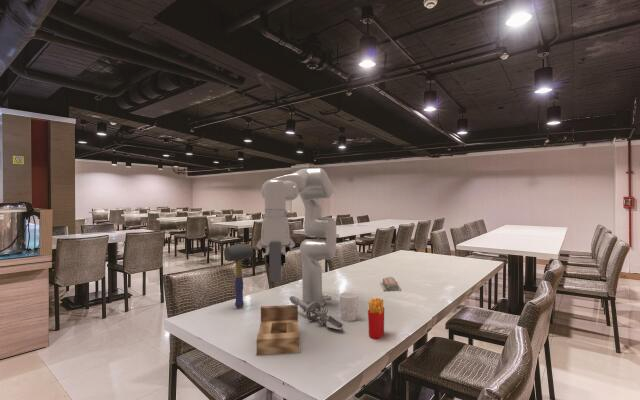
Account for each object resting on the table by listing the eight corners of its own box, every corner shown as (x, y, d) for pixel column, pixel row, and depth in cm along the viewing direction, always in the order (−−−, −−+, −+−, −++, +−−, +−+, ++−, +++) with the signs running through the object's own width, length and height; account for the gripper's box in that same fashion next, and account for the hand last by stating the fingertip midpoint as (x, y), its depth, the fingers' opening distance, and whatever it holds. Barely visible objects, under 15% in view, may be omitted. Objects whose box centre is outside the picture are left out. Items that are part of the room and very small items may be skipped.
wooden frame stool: (298, 330, 122) (297, 304, 122) (299, 352, 104) (299, 322, 104) (261, 332, 120) (261, 306, 120) (256, 355, 102) (256, 324, 102)
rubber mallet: (230, 312, 143) (230, 246, 143) (223, 308, 148) (222, 245, 149) (254, 306, 151) (254, 244, 151) (247, 302, 157) (246, 242, 157)
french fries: (376, 340, 112) (376, 304, 112) (365, 338, 114) (365, 302, 114) (387, 332, 119) (386, 297, 119) (376, 329, 122) (376, 295, 122)
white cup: (346, 323, 128) (345, 298, 129) (336, 317, 135) (335, 293, 136) (361, 319, 132) (361, 295, 132) (351, 314, 139) (351, 291, 139)
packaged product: (401, 283, 173) (383, 283, 174) (401, 292, 173) (383, 292, 174) (396, 276, 191) (380, 276, 192) (396, 284, 191) (380, 283, 192)
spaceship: (299, 291, 149) (286, 287, 144) (352, 318, 122) (339, 315, 117) (293, 307, 147) (280, 304, 142) (345, 339, 121) (332, 337, 116)
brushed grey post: (282, 275, 117) (281, 240, 117) (281, 280, 109) (280, 243, 109) (271, 276, 117) (270, 241, 117) (269, 281, 109) (269, 243, 109)
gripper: (298, 213, 118) (299, 262, 117) (253, 214, 116) (253, 264, 116) (298, 214, 110) (299, 266, 110) (250, 215, 109) (251, 268, 108)
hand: (275, 264), depth 113 cm, fingers closed on brushed grey post, 4 cm apart
